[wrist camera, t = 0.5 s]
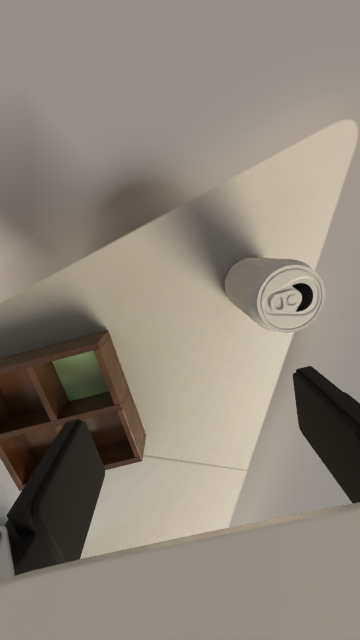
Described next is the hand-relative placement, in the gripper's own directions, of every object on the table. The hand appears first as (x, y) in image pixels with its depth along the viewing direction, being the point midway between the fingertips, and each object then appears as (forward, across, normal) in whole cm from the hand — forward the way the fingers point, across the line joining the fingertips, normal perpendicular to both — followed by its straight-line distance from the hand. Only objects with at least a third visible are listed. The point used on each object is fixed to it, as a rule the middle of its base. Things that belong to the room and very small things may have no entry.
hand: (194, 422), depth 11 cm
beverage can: (+22, -9, -1) cm, 24 cm away
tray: (+22, +18, +9) cm, 30 cm away
